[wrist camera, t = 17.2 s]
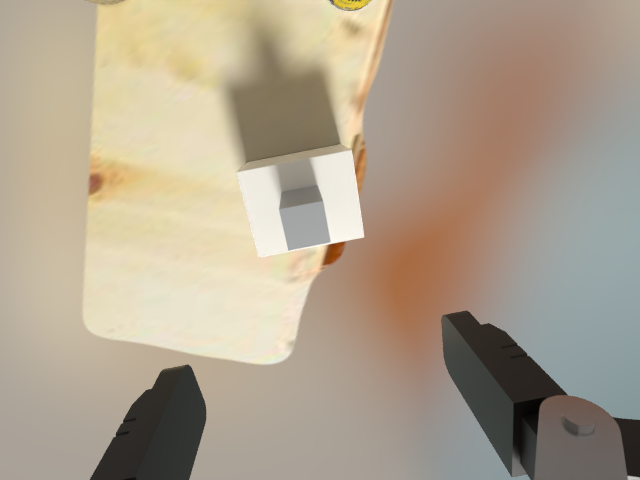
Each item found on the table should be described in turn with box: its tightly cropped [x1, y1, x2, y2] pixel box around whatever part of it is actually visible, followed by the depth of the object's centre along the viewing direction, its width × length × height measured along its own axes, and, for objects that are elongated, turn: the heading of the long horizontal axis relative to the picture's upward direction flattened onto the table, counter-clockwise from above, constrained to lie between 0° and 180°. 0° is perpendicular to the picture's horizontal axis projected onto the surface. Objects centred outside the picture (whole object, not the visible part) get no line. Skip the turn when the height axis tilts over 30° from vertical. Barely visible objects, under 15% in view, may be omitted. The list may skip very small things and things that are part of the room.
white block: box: [236, 144, 364, 258], centre depth 31 cm, size 8×10×13 cm
